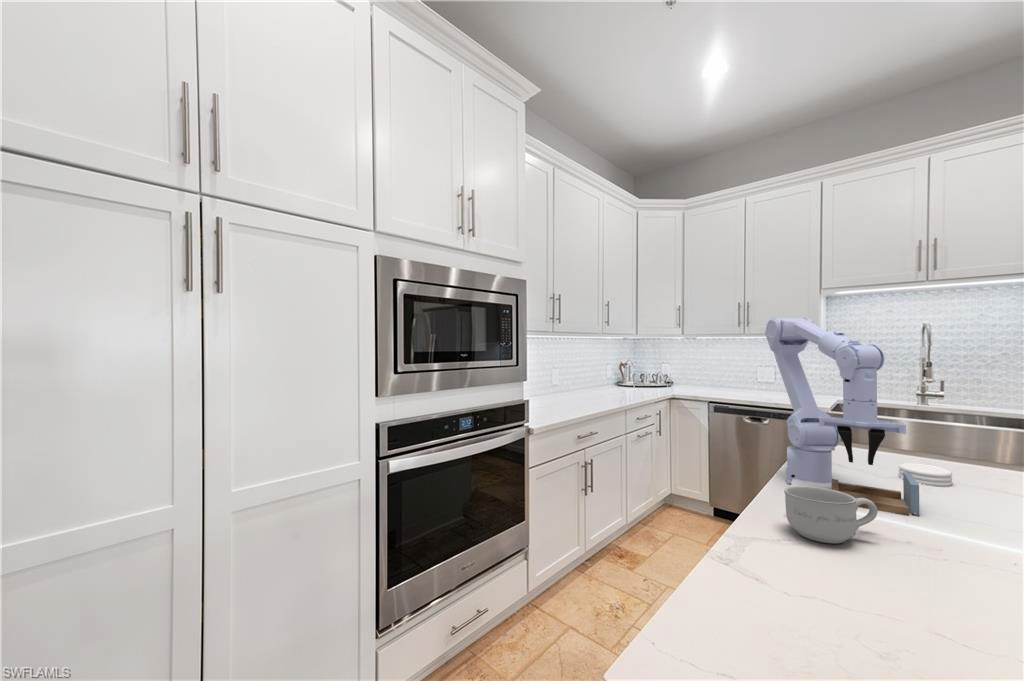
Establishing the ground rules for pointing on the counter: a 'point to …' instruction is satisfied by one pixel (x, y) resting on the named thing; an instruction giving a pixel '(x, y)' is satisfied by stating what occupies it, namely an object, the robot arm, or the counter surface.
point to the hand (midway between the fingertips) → (860, 462)
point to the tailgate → (911, 493)
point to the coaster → (927, 474)
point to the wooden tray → (874, 497)
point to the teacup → (825, 513)
